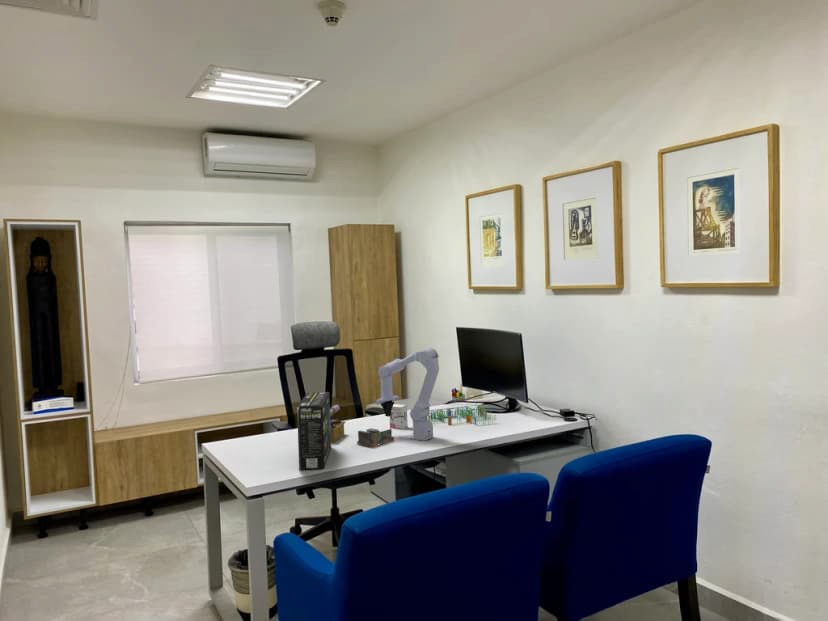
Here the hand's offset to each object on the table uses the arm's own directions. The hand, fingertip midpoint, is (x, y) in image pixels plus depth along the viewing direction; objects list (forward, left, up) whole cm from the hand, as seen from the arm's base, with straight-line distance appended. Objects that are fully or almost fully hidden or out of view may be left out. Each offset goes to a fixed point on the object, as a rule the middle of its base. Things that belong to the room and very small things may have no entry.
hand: (387, 416), depth 308 cm
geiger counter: (+17, +24, -10) cm, 31 cm away
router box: (-2, +48, -10) cm, 49 cm away
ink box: (+6, -14, -10) cm, 18 cm away
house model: (-11, -44, -10) cm, 47 cm away
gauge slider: (-6, +16, -7) cm, 18 cm away
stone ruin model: (-5, +14, -9) cm, 18 cm away
